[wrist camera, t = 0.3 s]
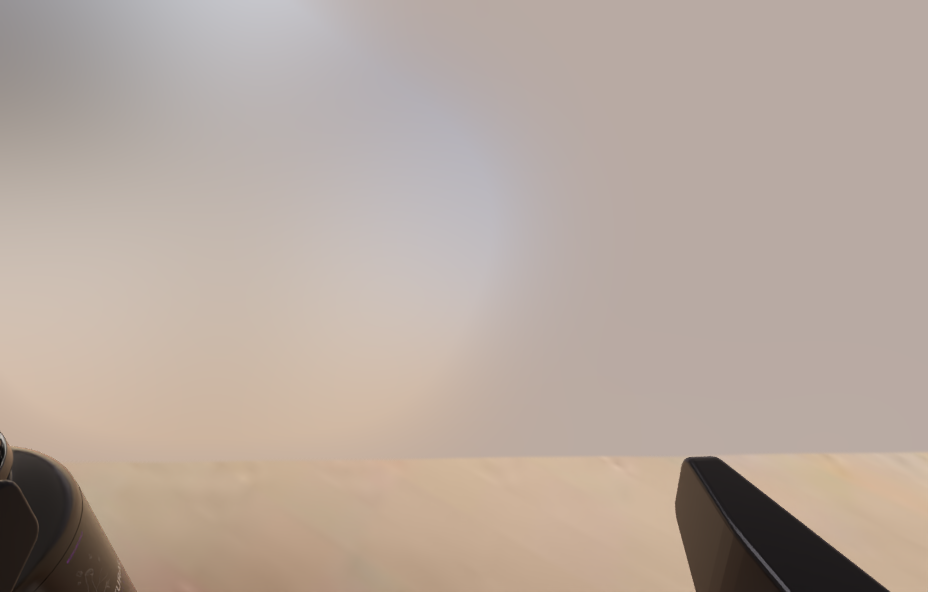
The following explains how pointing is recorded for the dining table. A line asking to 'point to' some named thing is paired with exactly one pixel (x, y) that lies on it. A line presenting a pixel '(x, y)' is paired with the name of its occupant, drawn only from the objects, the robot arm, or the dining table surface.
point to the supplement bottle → (61, 529)
